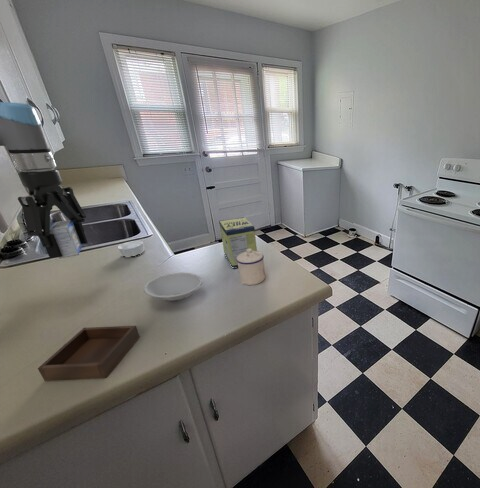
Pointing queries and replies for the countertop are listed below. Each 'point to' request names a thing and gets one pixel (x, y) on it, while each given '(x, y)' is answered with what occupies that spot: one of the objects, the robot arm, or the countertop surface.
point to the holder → (90, 353)
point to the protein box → (237, 238)
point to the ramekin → (131, 248)
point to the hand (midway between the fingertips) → (69, 249)
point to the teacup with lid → (251, 267)
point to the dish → (173, 286)
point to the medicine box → (66, 238)
